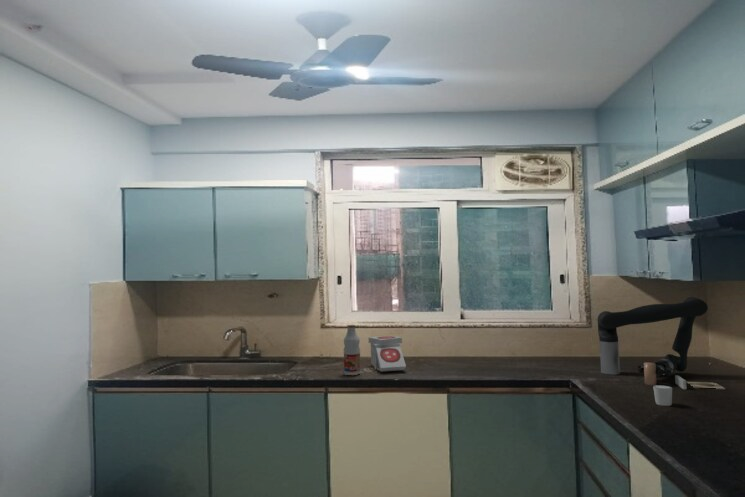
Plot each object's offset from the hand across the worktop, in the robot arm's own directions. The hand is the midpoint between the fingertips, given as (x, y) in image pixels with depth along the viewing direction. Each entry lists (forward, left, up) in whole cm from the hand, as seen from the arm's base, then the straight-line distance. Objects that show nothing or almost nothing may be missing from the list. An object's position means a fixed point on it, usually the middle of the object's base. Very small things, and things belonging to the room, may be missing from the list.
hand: (648, 371), depth 232 cm
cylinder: (-1, +1, -6) cm, 6 cm away
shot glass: (+36, -3, -6) cm, 36 cm away
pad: (-1, +24, -6) cm, 25 cm away
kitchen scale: (-16, -136, -6) cm, 137 cm away
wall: (+2, +13, -6) cm, 14 cm away
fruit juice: (+3, -152, -6) cm, 152 cm away
